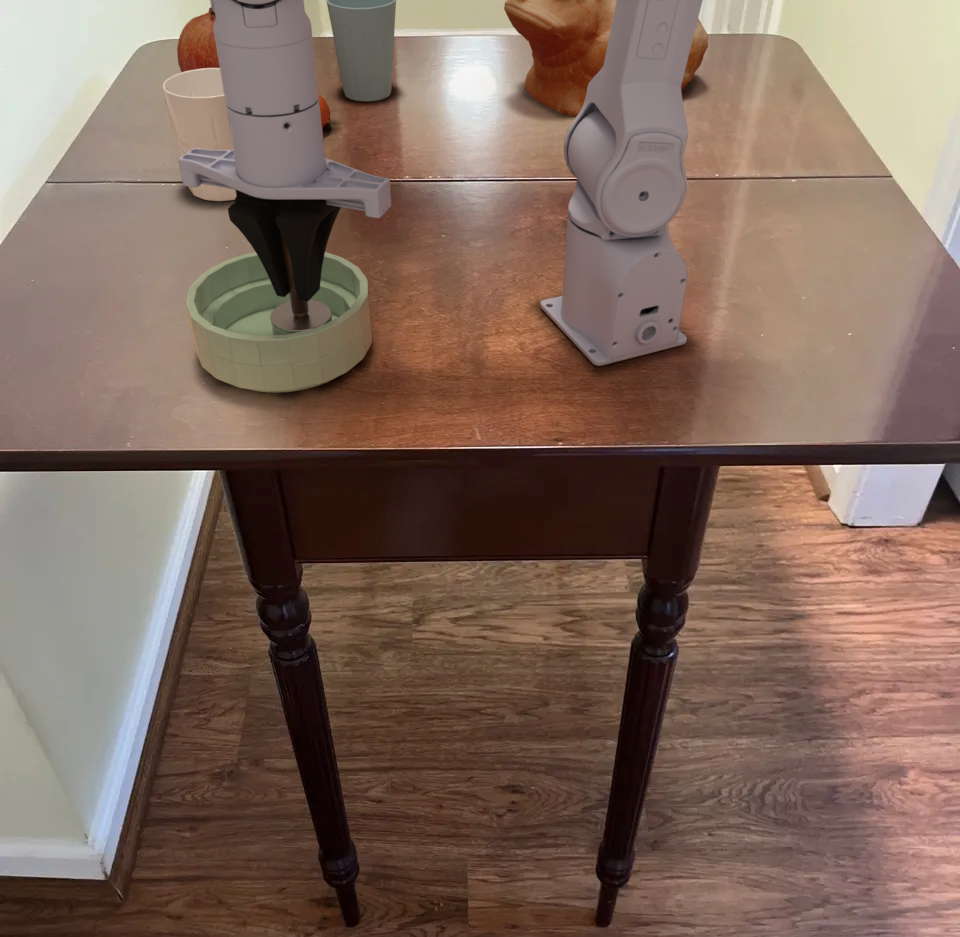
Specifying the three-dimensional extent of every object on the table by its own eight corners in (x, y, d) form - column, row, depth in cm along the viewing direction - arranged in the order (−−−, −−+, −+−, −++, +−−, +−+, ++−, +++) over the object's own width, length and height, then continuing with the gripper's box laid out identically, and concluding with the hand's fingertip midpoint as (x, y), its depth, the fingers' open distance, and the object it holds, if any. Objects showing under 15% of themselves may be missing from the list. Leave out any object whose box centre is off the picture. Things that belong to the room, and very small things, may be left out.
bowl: (396, 375, 69) (393, 315, 66) (219, 418, 65) (206, 357, 62) (342, 292, 78) (337, 235, 75) (184, 325, 74) (171, 267, 71)
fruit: (294, 97, 112) (283, 5, 105) (222, 120, 106) (206, 25, 100) (239, 75, 117) (226, -13, 111) (169, 96, 112) (150, 4, 105)
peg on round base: (343, 323, 72) (331, 208, 66) (316, 354, 68) (301, 236, 62) (290, 312, 73) (274, 198, 67) (262, 342, 70) (242, 226, 64)
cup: (413, 96, 112) (408, 0, 105) (355, 110, 109) (347, 12, 102) (380, 78, 117) (374, -15, 110) (324, 90, 114) (314, -5, 107)
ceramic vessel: (478, 89, 114) (478, -51, 104) (659, 58, 123) (675, -74, 113) (536, 129, 105) (542, -20, 95) (727, 92, 114) (751, -48, 104)
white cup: (185, 209, 89) (163, 101, 83) (182, 174, 95) (161, 71, 89) (270, 199, 91) (255, 93, 85) (262, 166, 97) (247, 64, 90)
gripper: (405, 92, 61) (413, 282, 70) (205, 66, 64) (237, 250, 73) (358, 133, 56) (374, 332, 64) (144, 102, 59) (186, 295, 68)
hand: (298, 292), depth 68 cm, fingers closed on peg on round base
